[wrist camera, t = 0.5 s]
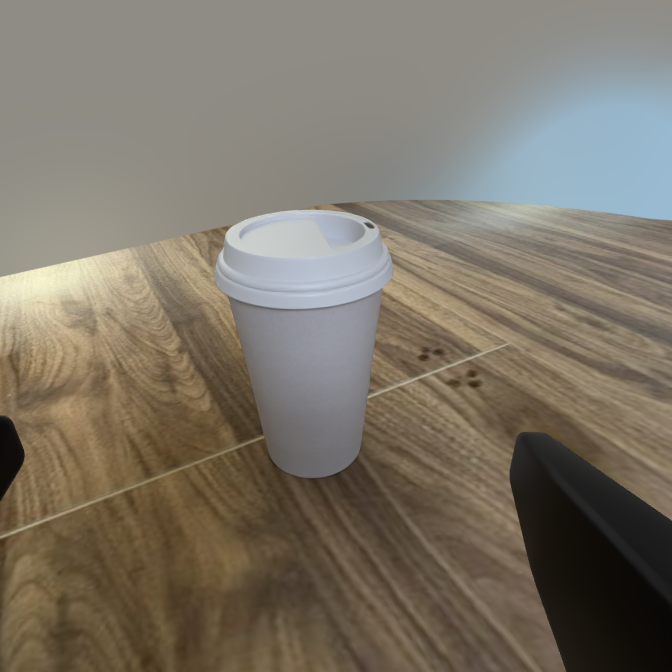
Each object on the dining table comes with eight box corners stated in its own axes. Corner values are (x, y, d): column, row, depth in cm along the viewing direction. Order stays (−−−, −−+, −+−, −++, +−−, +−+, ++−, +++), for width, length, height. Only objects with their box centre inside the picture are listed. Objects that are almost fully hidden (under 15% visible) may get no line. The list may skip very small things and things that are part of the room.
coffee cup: (377, 508, 26) (389, 270, 18) (223, 488, 27) (172, 259, 19) (387, 403, 34) (399, 208, 26) (268, 392, 35) (245, 203, 27)
